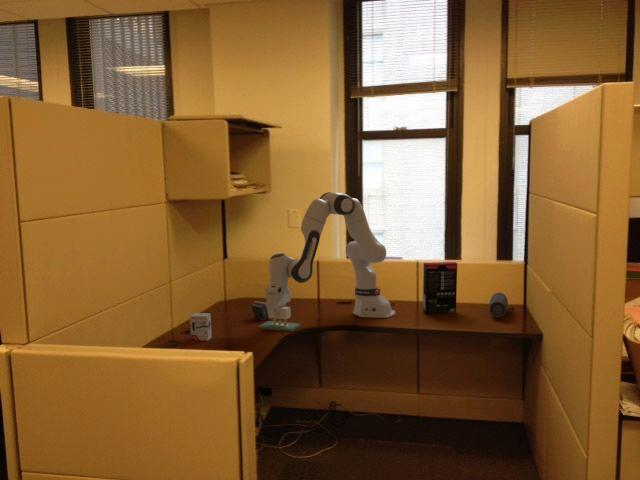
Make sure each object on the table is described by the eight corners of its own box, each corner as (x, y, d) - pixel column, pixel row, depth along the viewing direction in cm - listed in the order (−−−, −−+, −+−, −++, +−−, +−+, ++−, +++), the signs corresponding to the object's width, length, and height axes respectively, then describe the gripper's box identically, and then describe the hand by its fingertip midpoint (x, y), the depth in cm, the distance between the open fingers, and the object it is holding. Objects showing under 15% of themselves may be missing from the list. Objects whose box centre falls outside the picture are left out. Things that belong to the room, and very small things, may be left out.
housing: (290, 316, 284) (290, 307, 284) (286, 319, 280) (286, 309, 280) (272, 315, 288) (272, 305, 288) (268, 317, 284) (268, 307, 283)
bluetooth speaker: (507, 320, 288) (507, 301, 287) (488, 319, 291) (488, 300, 290) (508, 310, 309) (508, 291, 308) (490, 309, 312) (490, 291, 311)
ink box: (190, 340, 265) (189, 315, 264) (194, 337, 270) (193, 312, 269) (208, 340, 264) (207, 315, 263) (212, 337, 269) (210, 313, 268)
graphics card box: (452, 310, 311) (453, 260, 308) (457, 313, 305) (457, 262, 302) (422, 312, 309) (422, 262, 306) (426, 315, 302) (426, 264, 299)
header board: (300, 326, 286) (300, 316, 285) (292, 331, 277) (291, 321, 276) (268, 323, 293) (268, 314, 292) (259, 328, 284) (259, 319, 283)
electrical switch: (271, 319, 301) (269, 302, 300) (263, 322, 298) (261, 305, 296) (259, 316, 308) (257, 299, 306) (251, 319, 304) (249, 302, 302)
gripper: (282, 282, 293) (283, 309, 295) (263, 290, 274) (264, 318, 276) (293, 283, 291) (294, 309, 292) (275, 291, 272) (276, 319, 273)
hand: (279, 314), depth 284 cm, fingers closed on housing, 5 cm apart
